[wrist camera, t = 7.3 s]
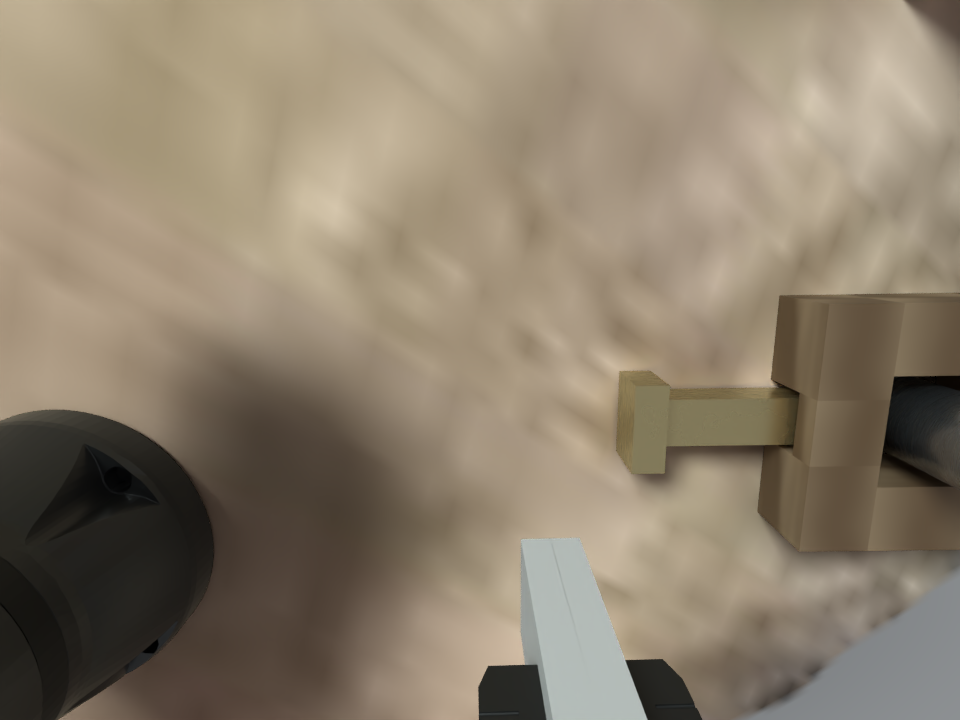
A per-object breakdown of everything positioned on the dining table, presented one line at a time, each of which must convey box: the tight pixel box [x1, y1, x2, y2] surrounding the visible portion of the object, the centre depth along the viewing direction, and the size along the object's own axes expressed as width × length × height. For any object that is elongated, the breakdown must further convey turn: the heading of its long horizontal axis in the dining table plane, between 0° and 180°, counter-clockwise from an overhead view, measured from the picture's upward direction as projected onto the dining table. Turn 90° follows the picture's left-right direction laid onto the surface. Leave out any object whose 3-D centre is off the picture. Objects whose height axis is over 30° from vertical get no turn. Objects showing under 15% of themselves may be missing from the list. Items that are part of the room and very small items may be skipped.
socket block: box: [758, 293, 960, 552], centre depth 27 cm, size 12×12×4 cm
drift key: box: [616, 371, 800, 474], centre depth 27 cm, size 9×4×3 cm, turn 91°
